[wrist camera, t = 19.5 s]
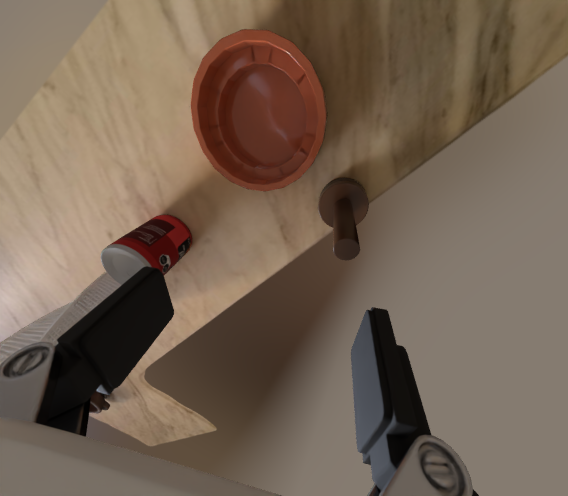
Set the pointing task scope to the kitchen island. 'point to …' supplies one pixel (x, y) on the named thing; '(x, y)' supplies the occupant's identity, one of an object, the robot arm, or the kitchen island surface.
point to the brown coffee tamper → (344, 214)
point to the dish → (98, 403)
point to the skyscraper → (60, 318)
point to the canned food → (147, 248)
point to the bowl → (258, 109)
